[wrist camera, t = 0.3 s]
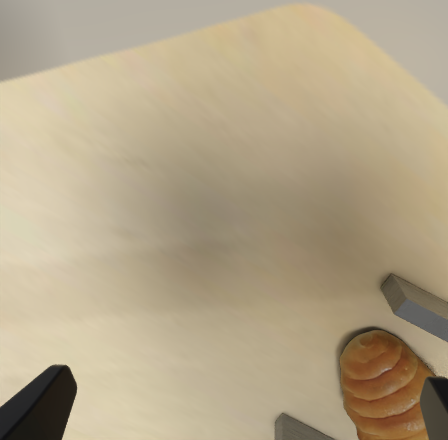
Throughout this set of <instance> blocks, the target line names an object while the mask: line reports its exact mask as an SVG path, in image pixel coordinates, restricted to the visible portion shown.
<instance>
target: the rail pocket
mask: <svg viewBox="0 0 448 440" xmlns="http://www.w3.org/2000/svg"><path fill="white" fill-rule="evenodd" d="M381 290H382V292H383V294H384V296H385V298H386V300H387V301H388V303H389V305H390V307H391V309H392V311H393V313H394V314H395V315H397V316H399V317H400V318H402V319H404V320H406V321H408V322H410V323H412V324H414V325H416V326H418V327H420V328H422V329H424V330H425V331H427V332H429V333H431V334H433V335H435V336H437V337H439V338H441V339H443V340H445V341H447V342H448V303H447V302H445V301H443V300H441V299H439V298H437V297H435V296H434V295H432V294H430V293H428V292H426V291H424V290H422V289H420V288H418V287H416V286H414V285H412V284H410V283H409V282H407V281H405V280H403V279H401V278H399V277H397V276H395V275H393V274H391V275H390V276H389V278H388V279H387V280H386V281H385V283H384V284H383V285H382V287H381ZM275 440H334V439H332V438H330V437H328V436H326V435H324V434H322V433H320V432H318V431H316V430H314V429H313V428H311V427H309V426H307V425H305V424H303V423H301V422H299V421H297V420H295V419H293V418H291V417H289V416H287V415H285V414H283V413H282V414H281V416H280V417H279V418H278V419H277V421H276V422H275Z"/></svg>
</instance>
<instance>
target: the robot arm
mask: <svg viewBox="0 0 448 440" xmlns="http://www.w3.org/2000/svg"><path fill="white" fill-rule="evenodd" d="M76 393H77V384H76V381H75V379H74V377H73V374H72V372H71V370H70V368H69V367H68V366H67V365H52V366H50V367H49V368H47V369H46V370H45V371H44V372H42V373H41V374H40V375H39V376H38V377H36V378H35V379H34V380H33V381H31V382H30V383H29V384H28V385H27V386H25V387H24V388H23V389H22V390H21V391H19V392H18V393H17V394H16V395H14V396H13V397H12V398H11V399H10V400H8V401H7V402H6V403H5V404H4V405H2V406H1V407H0V440H62V437H63V434H64V431H65V428H66V425H67V422H68V418H69V415H70V412H71V409H72V406H73V403H74V400H75V396H76ZM420 408H421V412H422V416H423V419H424V423H425V427H426V431H427V434H428V438H429V440H448V379H447V378H445V377H441V376H428V377H426V378H425V381H424V384H423V388H422V391H421V395H420Z"/></svg>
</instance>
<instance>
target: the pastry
mask: <svg viewBox="0 0 448 440" xmlns="http://www.w3.org/2000/svg"><path fill="white" fill-rule="evenodd" d="M339 362H340V369H341V378H340V384H341V388H342V390H343V394H344V400H343V405H344V409H345V410H346V412H347V414H348V415H349V417H350V418H351V419H352V421H353V422H354V423H355V425H356V428H357V435H358V438H359V440H429V438H428V434H427V431H426V427H425V423H424V419H423V416H422V412H421V408H420V395H421V391H422V388H423V384H424V381H425V378H426V377H428V376H435V374H434V373H433V372H432V371H431V370H430V369H429V368H428V367H427V366H426V365H425V364H424V363H423V362H422V361H421V360H420V359H419V358H418V357H417V356H416V355H415V354H414V353H413V351H412V350H411V349H410V348H409V347H408V346H407V345H406V344H404V343H403V342H402V341H401V340H400V339H399V338H397V337H395V336H393V335H391V334H389V333H388V332H386V331H383V330H373V331H370V332H367V333H363V334H360V335H358V336H356V337H355V338H354V339H352V340H351V341H350V342H349V343H348V344H347V345H346V347H345V350H344V351H343V353H342V355H341V356H340V359H339Z"/></svg>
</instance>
